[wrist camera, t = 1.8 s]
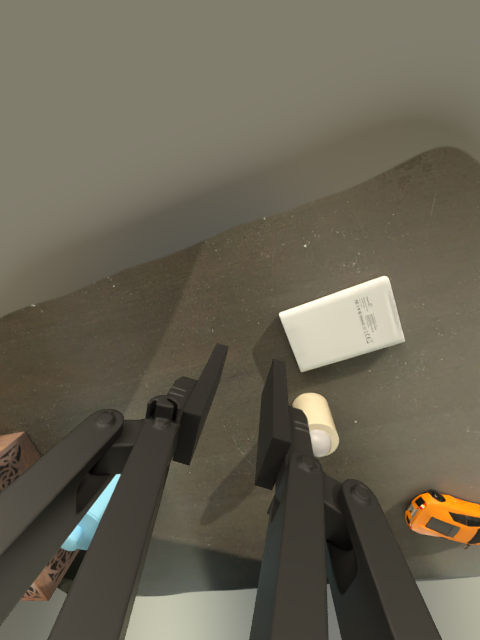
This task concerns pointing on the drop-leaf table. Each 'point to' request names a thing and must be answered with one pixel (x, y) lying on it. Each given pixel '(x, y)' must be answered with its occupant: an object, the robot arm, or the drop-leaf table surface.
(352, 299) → the hard drive
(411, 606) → the robot arm
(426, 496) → the toy car
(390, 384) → the drop-leaf table surface
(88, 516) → the sugar bowl
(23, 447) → the tissue box cover
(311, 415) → the salt shaker
